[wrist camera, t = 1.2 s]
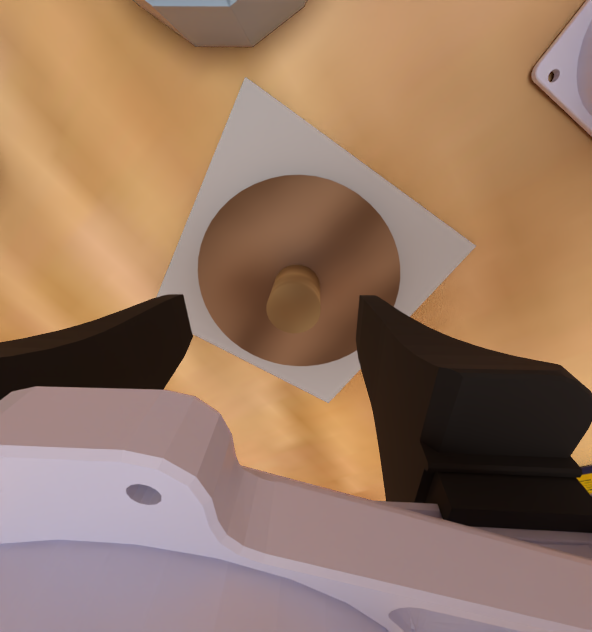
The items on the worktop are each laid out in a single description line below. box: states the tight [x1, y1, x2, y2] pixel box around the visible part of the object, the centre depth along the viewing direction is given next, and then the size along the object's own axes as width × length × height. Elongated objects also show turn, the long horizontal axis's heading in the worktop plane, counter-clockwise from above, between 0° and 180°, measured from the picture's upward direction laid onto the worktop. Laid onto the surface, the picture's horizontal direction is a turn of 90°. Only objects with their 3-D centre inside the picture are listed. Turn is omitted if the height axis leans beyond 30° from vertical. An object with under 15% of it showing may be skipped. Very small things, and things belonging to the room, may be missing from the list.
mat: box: [157, 77, 476, 403], centre depth 21 cm, size 17×17×1 cm
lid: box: [198, 175, 400, 366], centre depth 19 cm, size 14×14×4 cm
